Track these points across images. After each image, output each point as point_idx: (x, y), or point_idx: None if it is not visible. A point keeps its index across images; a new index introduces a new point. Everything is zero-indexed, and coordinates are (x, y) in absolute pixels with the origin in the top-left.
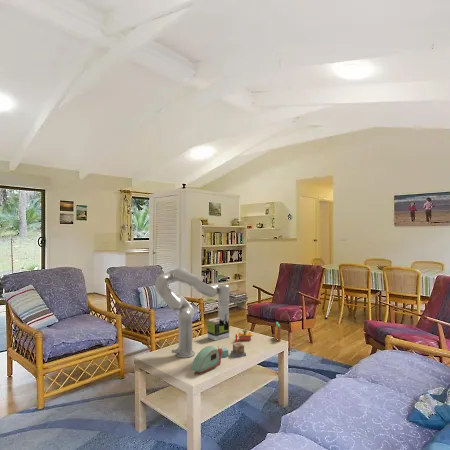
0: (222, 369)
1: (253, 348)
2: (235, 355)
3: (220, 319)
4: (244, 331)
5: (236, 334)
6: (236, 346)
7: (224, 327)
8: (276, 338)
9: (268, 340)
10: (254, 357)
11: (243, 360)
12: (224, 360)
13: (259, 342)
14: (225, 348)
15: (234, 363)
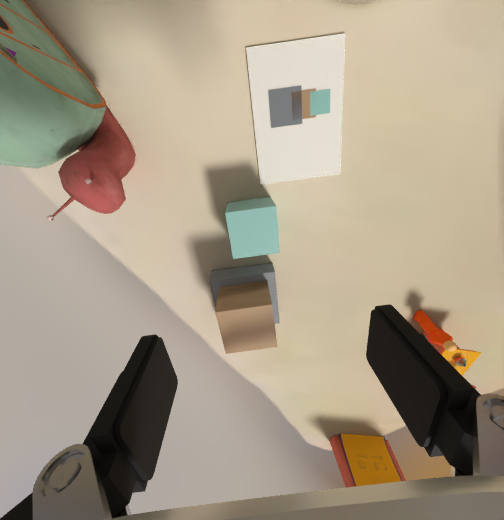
0: None
1: (312, 362)
2: (210, 280)
3: (471, 427)
4: None
5: (447, 347)
6: (219, 315)
7: (126, 371)
8: (361, 446)
9: (373, 419)
10: (212, 346)
11: (183, 300)
12: (193, 213)
13: (368, 392)
14: (265, 247)
15: (148, 255)
